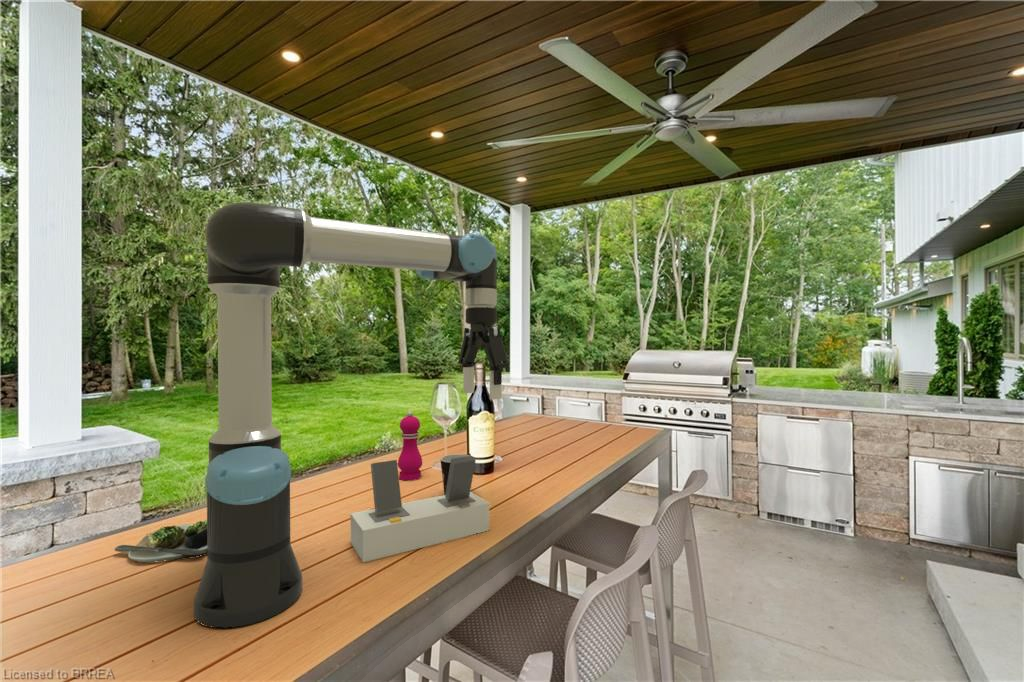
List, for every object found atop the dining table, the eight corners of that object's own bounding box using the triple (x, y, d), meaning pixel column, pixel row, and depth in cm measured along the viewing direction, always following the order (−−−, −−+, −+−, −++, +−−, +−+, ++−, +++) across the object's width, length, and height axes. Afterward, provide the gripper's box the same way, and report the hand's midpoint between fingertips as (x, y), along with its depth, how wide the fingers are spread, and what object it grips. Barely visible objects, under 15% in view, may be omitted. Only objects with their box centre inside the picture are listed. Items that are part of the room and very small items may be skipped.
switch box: (363, 562, 87) (362, 528, 87) (350, 542, 96) (350, 511, 96) (489, 530, 101) (489, 500, 101) (468, 515, 110) (468, 488, 110)
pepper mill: (403, 473, 144) (402, 408, 144) (425, 474, 143) (425, 409, 143) (394, 480, 137) (393, 412, 136) (417, 481, 136) (417, 413, 135)
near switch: (377, 512, 93) (372, 463, 96) (375, 512, 94) (370, 464, 97) (401, 507, 96) (396, 459, 98) (399, 507, 97) (394, 460, 100)
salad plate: (93, 577, 83) (93, 552, 83) (136, 536, 99) (136, 515, 99) (218, 560, 89) (218, 536, 89) (239, 524, 106) (239, 504, 106)
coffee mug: (467, 502, 118) (467, 463, 118) (435, 500, 120) (435, 461, 120) (479, 488, 130) (479, 452, 130) (450, 486, 132) (450, 450, 131)
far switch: (448, 501, 100) (454, 463, 97) (444, 496, 102) (451, 459, 99) (468, 497, 103) (475, 460, 100) (465, 492, 104) (472, 455, 102)
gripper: (522, 304, 103) (523, 400, 103) (471, 310, 124) (471, 389, 124) (493, 303, 99) (493, 403, 99) (445, 309, 120) (445, 391, 120)
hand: (481, 396), depth 112 cm, fingers open, 13 cm apart
